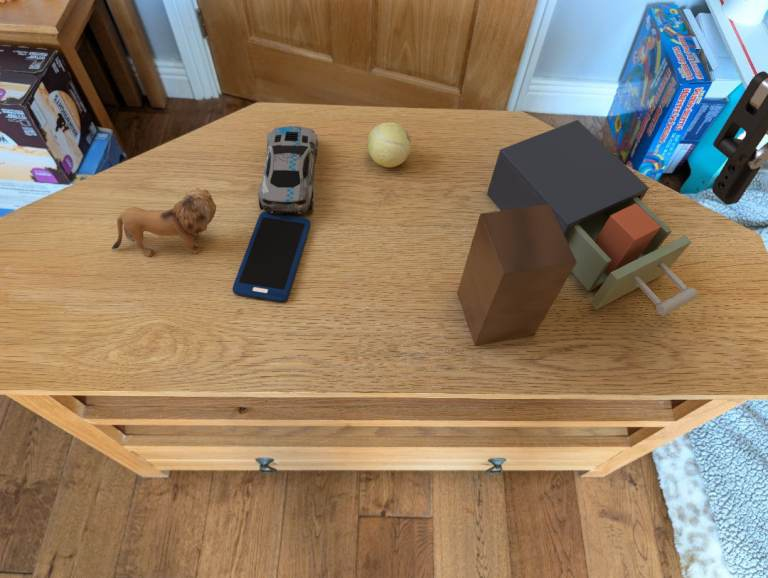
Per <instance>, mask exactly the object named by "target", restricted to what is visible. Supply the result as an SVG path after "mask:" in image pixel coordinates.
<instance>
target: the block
mask: <svg viewBox="0 0 768 578" xmlns="http://www.w3.org/2000/svg"><path fill="white" fill-rule="evenodd" d="M660 228H661V226H659V225H658V224H657V223H656V222H655V221H654V220H653V219H652V218H651V217H650V216H649V215H648V214H647V213H646V212H645V211H644V210H643V209H642V208H641V207H640V206H639V205H637V204H636V203H635V204H633V205H631V206H629V207H627V208H625V209H623V210H621V211H619V212H617V213H615V214H613V215H611V216H610V217H609V219H608V220H607V222H606V224H605V225H604V227H603V229H602V230H601V232H600V234H599V236H598V237H597V239H596V241H595V243H596V244H597V245H598V246H599V247H600V248H601V249H602V250H603V251H604V253H605V254H606V255H607V256H608V257H609V258H610V259H611V260H612V261H611V262H610V264H609V265H608V267H607V268H606V270H605V271H604V272H605V273H606V274H607V275H608V276H609V274H610V273H611V272H613V271H615V270H617V269H619V268H621V267H623V266H625V265H627V264H629V263H631V262H633V261H635V260H637V259H638V258H639V256H640V255H641V254H642V252H643V251H644V250H645V248H646V247H647V245H648V244H649V243H650V241H651V240H652V239H653V237H654V236H655V235H656V233H657V232H658V230H659V229H660Z"/></svg>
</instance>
